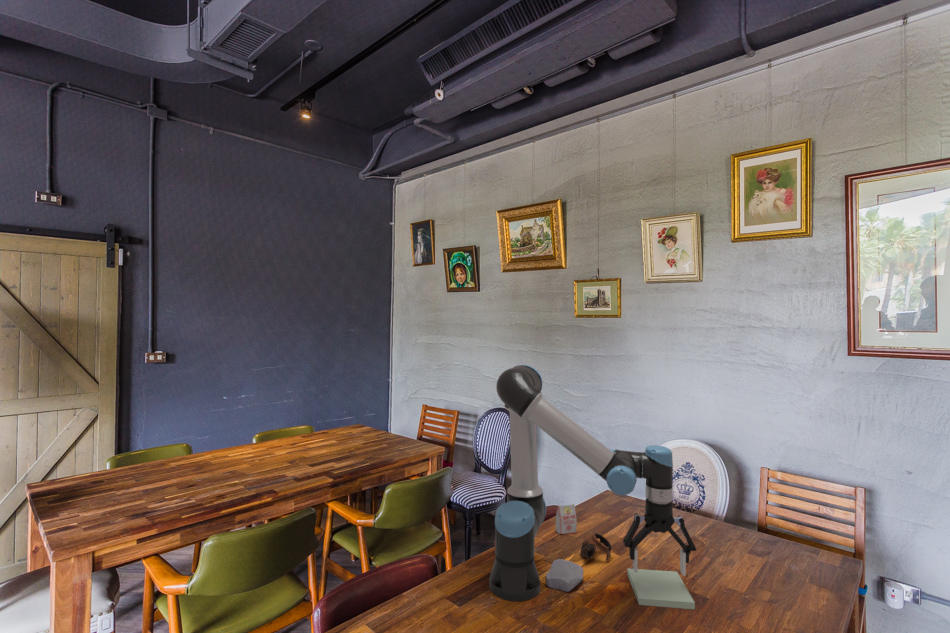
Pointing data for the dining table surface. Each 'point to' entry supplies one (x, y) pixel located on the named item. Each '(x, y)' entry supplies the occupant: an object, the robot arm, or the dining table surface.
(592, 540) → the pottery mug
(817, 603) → the dining table surface
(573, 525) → the white food box
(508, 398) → the robot arm
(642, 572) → the base
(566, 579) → the stone block
